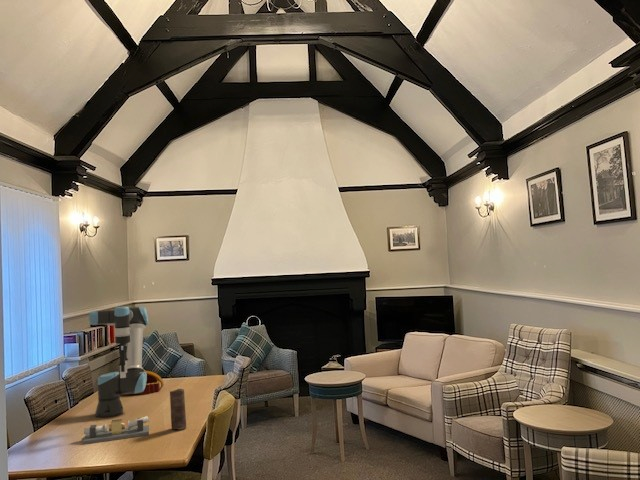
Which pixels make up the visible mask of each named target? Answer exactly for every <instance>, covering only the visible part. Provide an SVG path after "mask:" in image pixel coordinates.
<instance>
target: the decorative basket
mask: <svg viewBox="0 0 640 480" xmlns="http://www.w3.org/2000/svg"><path fill="white" fill-rule="evenodd" d="M144 372H146V373H147V381H146V386H145V389H144V391H143V392H140V393H131V394H130V395H136V394H137V395H146V394H147V395H149V394H154V393H159V392H160V391H161V389H162V388H163V387H164V384H165V383H164V380H163V379H162V377H161V376H160V375H159V374H157V373H155V372H153V371H151V370H150V371H149V370H145V369H144ZM124 395H127V394H120V396H124Z"/></svg>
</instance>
